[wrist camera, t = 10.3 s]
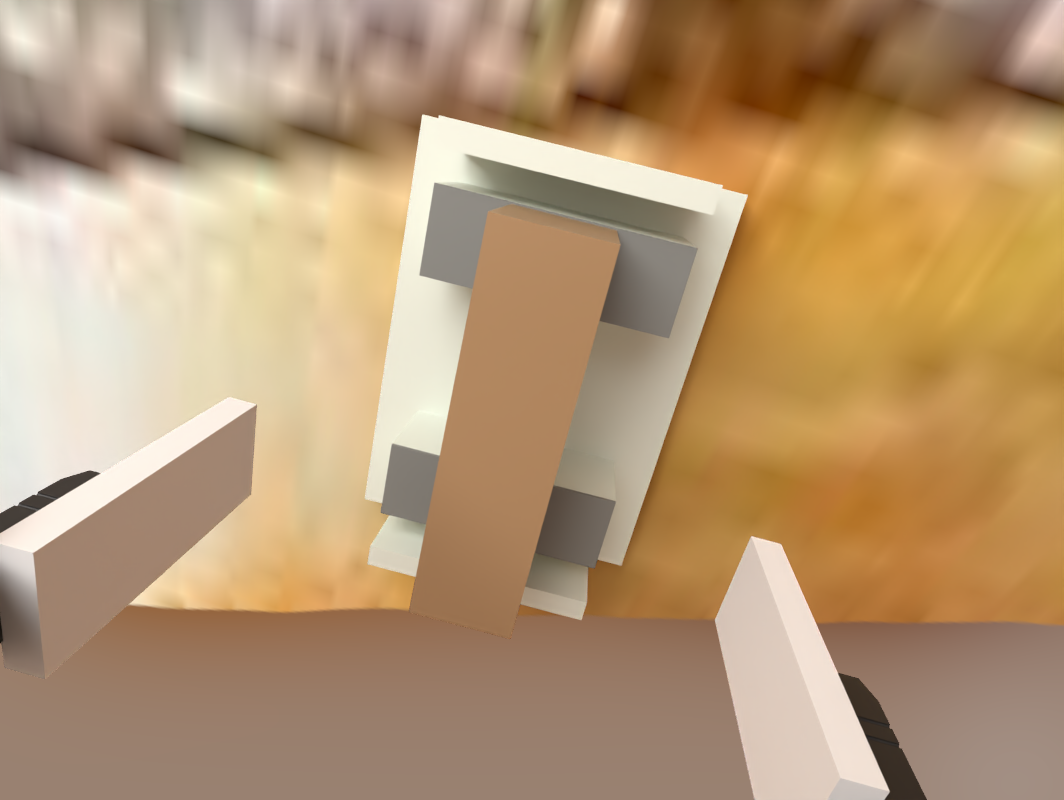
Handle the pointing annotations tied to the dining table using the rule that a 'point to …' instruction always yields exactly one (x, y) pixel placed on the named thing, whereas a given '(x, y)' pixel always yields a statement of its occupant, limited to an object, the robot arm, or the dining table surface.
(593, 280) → the tan wooden plank
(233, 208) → the dining table surface
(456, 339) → the stand
